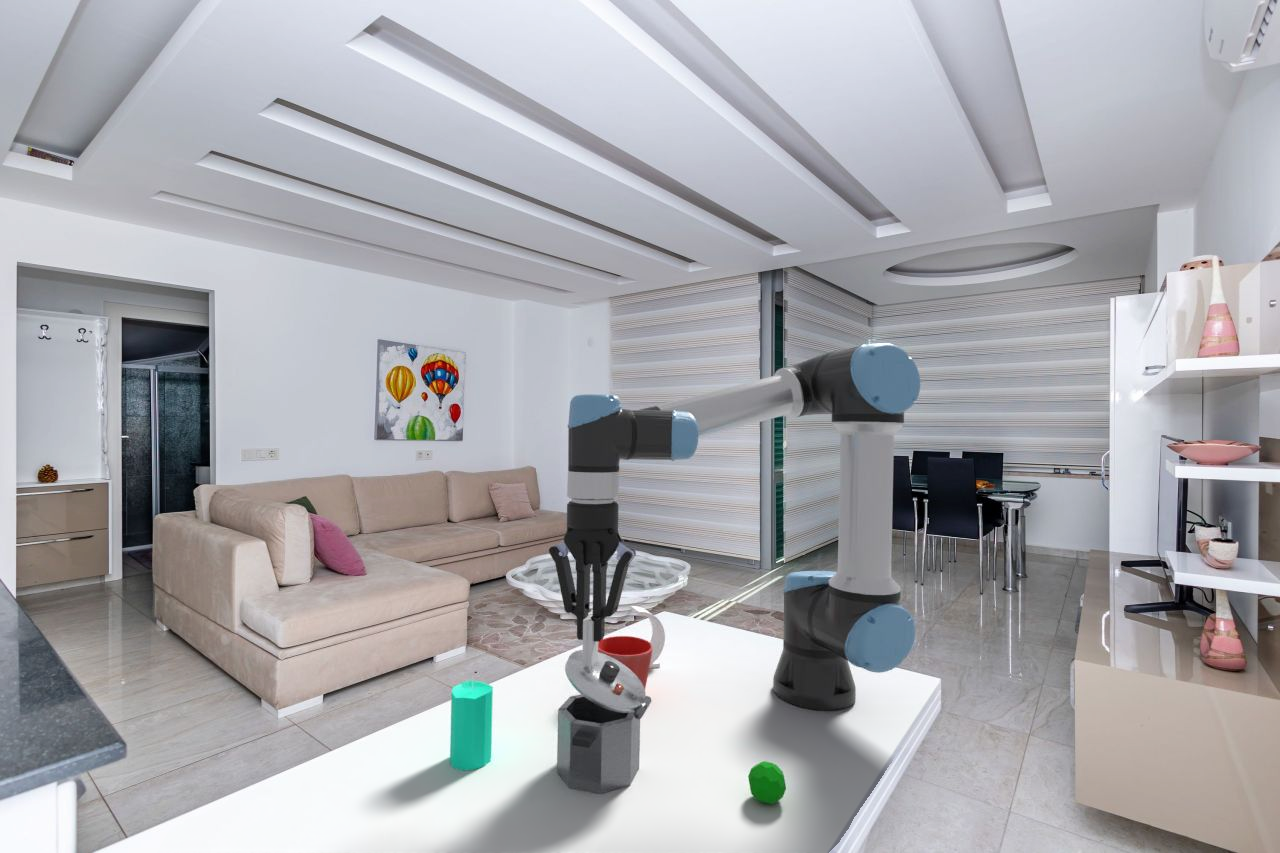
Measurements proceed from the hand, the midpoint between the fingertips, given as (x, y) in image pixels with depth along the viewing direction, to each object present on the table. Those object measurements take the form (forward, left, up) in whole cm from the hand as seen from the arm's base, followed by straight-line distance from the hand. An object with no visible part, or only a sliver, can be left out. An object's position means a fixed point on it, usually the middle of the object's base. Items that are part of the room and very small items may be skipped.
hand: (590, 662), depth 91 cm
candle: (+17, +3, -16) cm, 24 cm away
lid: (-2, 0, -3) cm, 4 cm away
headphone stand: (+2, -42, -16) cm, 45 cm away
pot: (-2, 0, -16) cm, 16 cm away
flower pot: (+2, -25, -16) cm, 30 cm away
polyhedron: (-26, 0, -16) cm, 30 cm away
